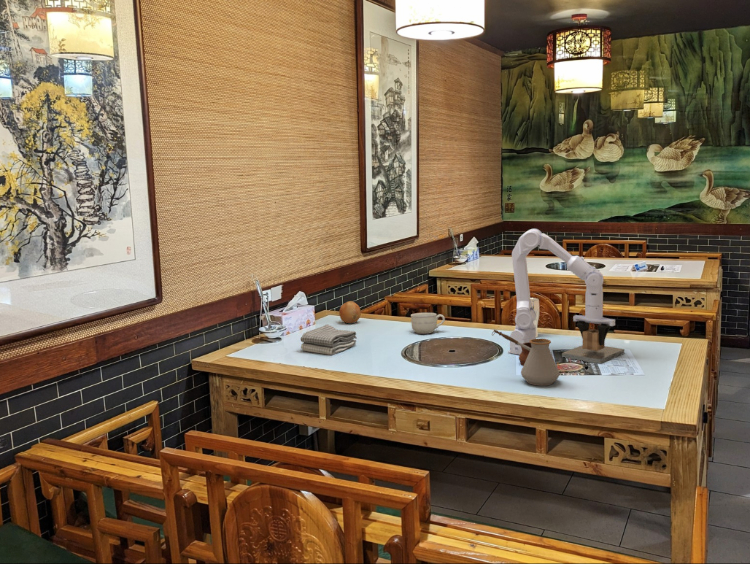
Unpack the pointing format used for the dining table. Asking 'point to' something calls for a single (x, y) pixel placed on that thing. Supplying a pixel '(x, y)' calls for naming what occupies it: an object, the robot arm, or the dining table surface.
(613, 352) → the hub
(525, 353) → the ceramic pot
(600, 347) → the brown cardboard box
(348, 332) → the towel
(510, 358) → the dining table surface
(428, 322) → the teacup
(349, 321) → the onion
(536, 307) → the beer glass
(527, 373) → the coffee pot
